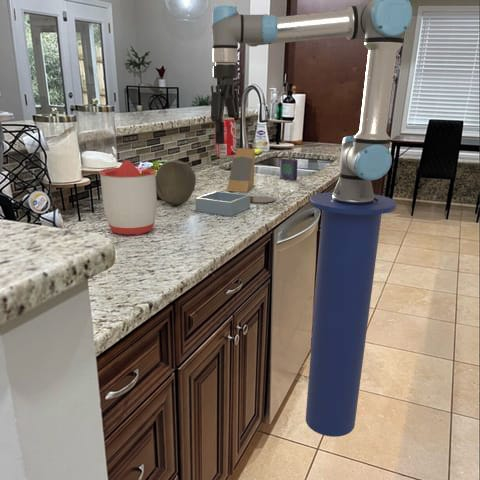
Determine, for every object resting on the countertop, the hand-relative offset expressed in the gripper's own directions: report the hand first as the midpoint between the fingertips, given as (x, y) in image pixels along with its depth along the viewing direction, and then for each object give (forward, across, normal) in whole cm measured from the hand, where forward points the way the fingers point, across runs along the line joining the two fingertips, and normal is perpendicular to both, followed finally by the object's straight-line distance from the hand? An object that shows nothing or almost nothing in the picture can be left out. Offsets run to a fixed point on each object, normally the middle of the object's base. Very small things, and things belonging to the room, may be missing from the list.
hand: (225, 142), depth 163 cm
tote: (+22, +1, -1) cm, 22 cm away
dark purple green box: (+23, -65, -4) cm, 69 cm away
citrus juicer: (+22, +36, -11) cm, 44 cm away
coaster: (+22, -19, +4) cm, 29 cm away
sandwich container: (+22, -36, -13) cm, 44 cm away
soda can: (+5, 0, 0) cm, 5 cm away
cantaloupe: (+22, +3, -19) cm, 29 cm away
